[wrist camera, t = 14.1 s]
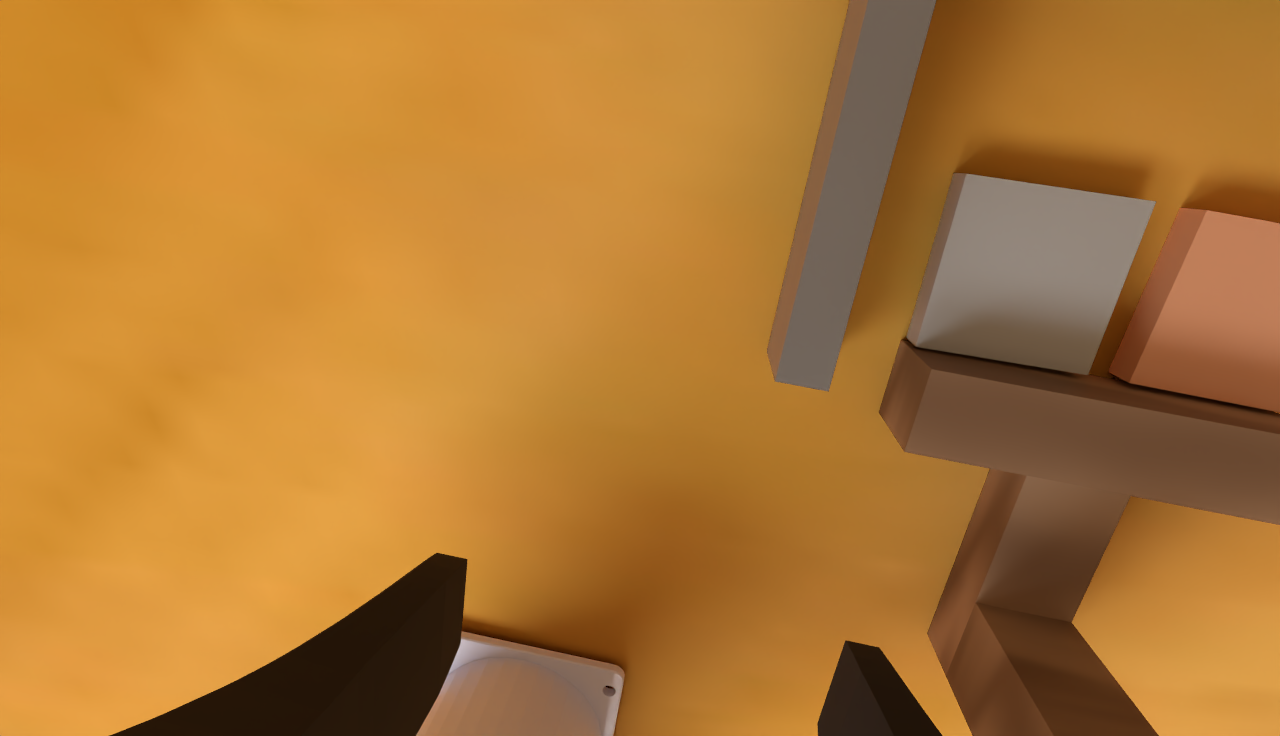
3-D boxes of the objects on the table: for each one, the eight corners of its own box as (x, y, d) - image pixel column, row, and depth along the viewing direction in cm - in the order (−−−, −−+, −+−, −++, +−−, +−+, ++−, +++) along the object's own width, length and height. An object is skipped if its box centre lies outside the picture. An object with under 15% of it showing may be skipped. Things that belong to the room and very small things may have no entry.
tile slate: (1061, 360, 20) (1088, 375, 19) (902, 333, 20) (915, 346, 19) (1122, 198, 19) (1156, 201, 17) (948, 172, 19) (966, 173, 17)
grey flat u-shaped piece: (1381, 465, 20) (1494, 517, 17) (766, 350, 21) (775, 381, 18) (1712, -84, 15) (1948, -142, 12) (895, -195, 16) (934, -271, 13)
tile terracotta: (1263, 399, 20) (1305, 417, 18) (1099, 367, 20) (1129, 383, 19) (1347, 239, 18) (1401, 245, 17) (1169, 206, 18) (1207, 210, 17)
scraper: (1124, 675, 23) (1366, 981, 14) (817, 610, 23) (875, 867, 15) (1263, 407, 19) (1688, 597, 11) (901, 340, 20) (1037, 471, 12)
